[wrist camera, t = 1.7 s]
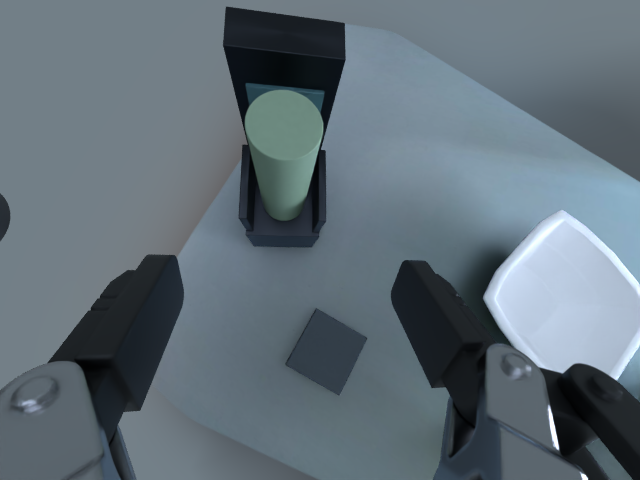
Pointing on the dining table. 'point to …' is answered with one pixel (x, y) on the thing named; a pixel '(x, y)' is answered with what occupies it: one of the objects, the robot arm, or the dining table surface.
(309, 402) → the dining table surface
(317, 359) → the coaster
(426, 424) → the dining table surface
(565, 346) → the bowl
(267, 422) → the dining table surface
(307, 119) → the green cylinder
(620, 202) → the dining table surface
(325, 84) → the navy chair block
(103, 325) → the robot arm
